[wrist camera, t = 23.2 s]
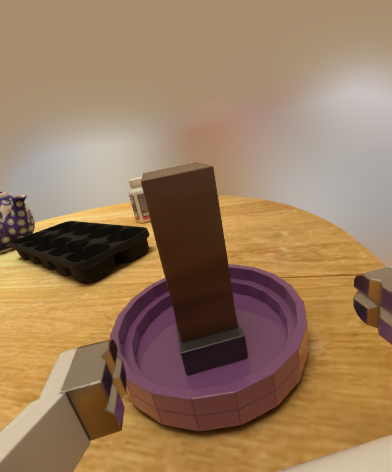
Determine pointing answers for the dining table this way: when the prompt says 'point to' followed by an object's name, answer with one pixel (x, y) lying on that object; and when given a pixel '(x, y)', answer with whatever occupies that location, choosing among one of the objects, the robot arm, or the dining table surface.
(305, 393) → the dining table surface
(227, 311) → the brown rectangular block
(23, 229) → the teapot
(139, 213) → the pill bottle
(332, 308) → the dining table surface
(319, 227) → the dining table surface
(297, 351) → the purple round dish
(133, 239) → the black muffin tray
